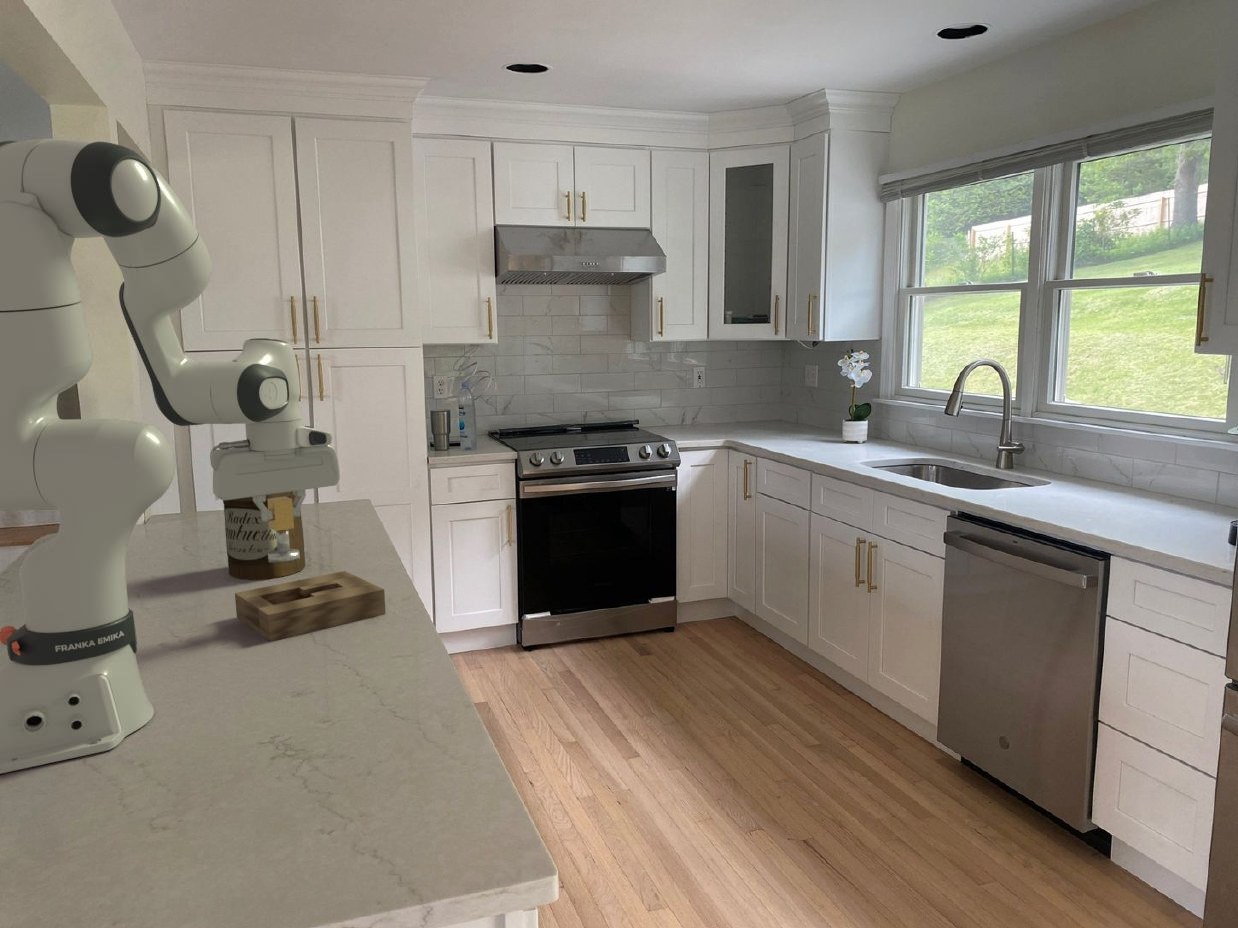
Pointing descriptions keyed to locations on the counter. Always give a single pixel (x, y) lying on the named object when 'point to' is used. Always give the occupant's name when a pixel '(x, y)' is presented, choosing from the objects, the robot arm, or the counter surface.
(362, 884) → the counter surface
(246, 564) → the wooden container
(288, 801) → the counter surface
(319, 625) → the keyhole plate
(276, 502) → the keyhole peg
